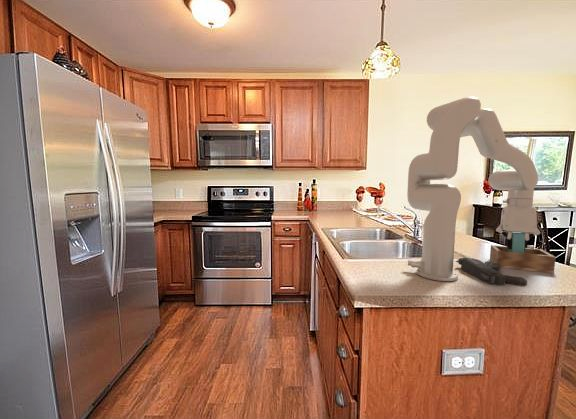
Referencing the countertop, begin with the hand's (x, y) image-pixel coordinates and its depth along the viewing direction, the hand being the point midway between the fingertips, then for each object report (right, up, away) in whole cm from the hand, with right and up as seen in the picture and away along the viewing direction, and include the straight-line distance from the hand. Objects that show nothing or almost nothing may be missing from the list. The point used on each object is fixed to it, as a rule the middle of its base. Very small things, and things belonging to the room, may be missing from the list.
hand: (516, 248), depth 106 cm
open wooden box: (0, -6, -1) cm, 7 cm away
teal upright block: (-1, -3, -1) cm, 3 cm away
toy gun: (-20, -8, -13) cm, 25 cm away
